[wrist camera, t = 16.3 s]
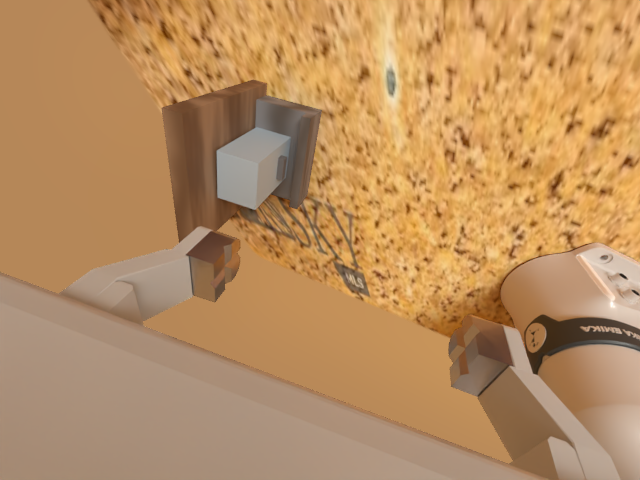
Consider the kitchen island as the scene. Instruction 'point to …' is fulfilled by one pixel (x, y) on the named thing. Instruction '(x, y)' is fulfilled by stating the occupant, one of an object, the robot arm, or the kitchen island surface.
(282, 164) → the grey box with notch
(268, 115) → the wall board
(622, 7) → the kitchen island surface
